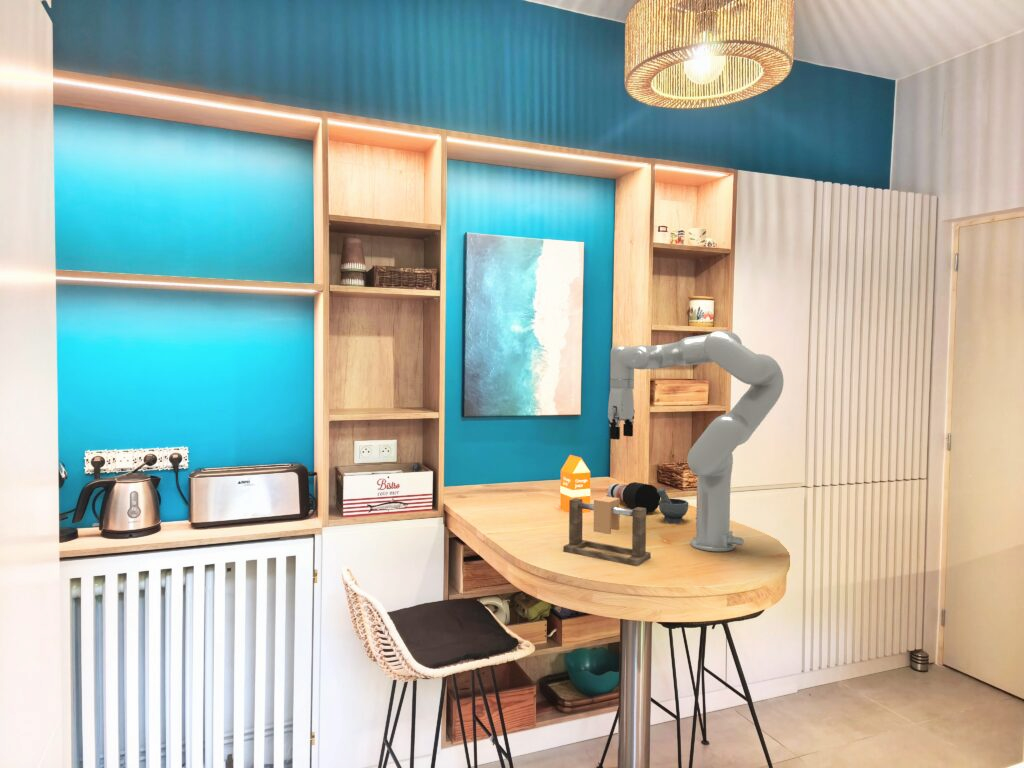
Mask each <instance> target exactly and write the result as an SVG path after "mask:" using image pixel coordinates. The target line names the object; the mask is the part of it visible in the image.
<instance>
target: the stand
mask: <svg viewBox="0 0 1024 768" xmlns="http://www.w3.org/2000/svg"><path fill="white" fill-rule="evenodd" d="M579 502H583V499H579V498H574V499H571V500H569V512H568V514H569V515H568V518H569V519H568V544H564V545H563V546H562V547H563V548H562V549H563V550H562V551H563V552H565V553H569V554H570V553H571V554H574V555H581V556H584V557H585V556H586V557H590V558H596V559H600V560H606V561H611V562H616V563H620V564H626V565H630V566H634V567H638V566H640V565H641V564H643V563H644V562H646V561H647V560H649V559H651V553H652V552H649V551H646V549H647V548H646V547H647V545H646V543H647V539H646V538H647V513H646V508H641V507H637V508H635V509H632V510H633V517H632V523H631V524H632V533H631V535H632V538H631V542H632V543H631V545H632V546H631V548H630V547H629V548H628V547H624V546H617V545H611V544H608V543H601V542H596V541H591V540H584V539H583V513H582V509H581V508H578V503H579ZM585 548H590V549H585ZM591 548H593V549H596V550H602V551H608V552H612V553H616V554H617V553H618V554H622V555H628V556H629V557H628V556H627V557H626V556H622V555H618V554H617V555H616V554H612V553H608V552H607V553H606V552H602V551H596V550H591Z"/></svg>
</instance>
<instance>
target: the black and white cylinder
mask: <svg viewBox="0 0 1024 768" xmlns="http://www.w3.org/2000/svg"><path fill="white" fill-rule="evenodd" d="M657 490H658V488H657V487H655V486H654V485H652V484H647V483H641V482H635V481H633V482H630V483H628V484H625V483H624V484H619V483H612V484H610V485H609V486H608V487H607V488H606V494H607V497H614V498H620V503H623V504H624V505H625V506H626V507H627V509H630V510H633V509H635V508H637V507H641V508H646V514H649V513H650V514H651V513H653V512H655V511H656V510H657V509H658V508H659V500H661V498H660V495H659V494H658V493H657Z"/></svg>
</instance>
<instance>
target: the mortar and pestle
mask: <svg viewBox="0 0 1024 768" xmlns="http://www.w3.org/2000/svg"><path fill="white" fill-rule="evenodd" d="M657 493H658V494H659V495H660V500H659V506H658V508H659V510H660V513H661V514H662V515H663V516H664V518H663V521H664V523H666V524H667V523H668V524H675V525H677V524H682V523H684V522H683V517H684V516H685V515H686V514H687V512H688V510H689V502H688V501H687V500H685V499H680V498H671V497H670V496H668V493H667V492H666V488H664V487H662V486H661V487H659V488H657Z"/></svg>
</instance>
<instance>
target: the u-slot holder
mask: <svg viewBox="0 0 1024 768" xmlns="http://www.w3.org/2000/svg"><path fill="white" fill-rule="evenodd" d="M620 503H621V502H620V498H614V497H609V496H608V495H607V496H605V495H603V496H601V497H598V498H595V499H593V504H594V511H593V532H596V533H601V534H606V535H607V534H608V535H611V534H612V530H613V531H619V530H620V515H619V514H613V513H611V509H612V508H614V507H617V508H621V506H620Z"/></svg>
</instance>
